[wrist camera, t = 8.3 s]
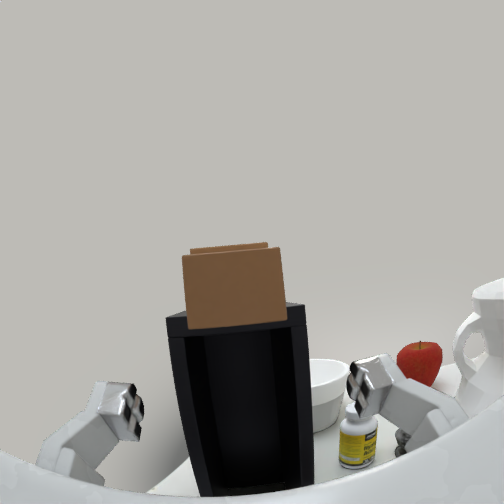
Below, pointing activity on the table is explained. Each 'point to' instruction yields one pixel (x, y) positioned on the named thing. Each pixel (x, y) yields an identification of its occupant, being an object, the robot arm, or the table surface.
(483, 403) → the pitcher
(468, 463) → the robot arm
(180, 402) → the tall black box
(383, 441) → the table surface
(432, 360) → the apple
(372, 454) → the supplement bottle
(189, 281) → the brown stepped block
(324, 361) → the bowl
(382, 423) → the table surface
